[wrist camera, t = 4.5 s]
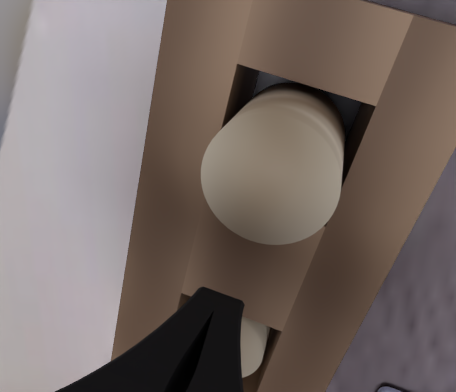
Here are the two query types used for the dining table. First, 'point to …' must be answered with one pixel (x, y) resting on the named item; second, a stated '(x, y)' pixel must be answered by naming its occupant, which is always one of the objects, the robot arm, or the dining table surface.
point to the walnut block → (351, 175)
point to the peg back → (252, 345)
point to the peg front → (277, 165)
